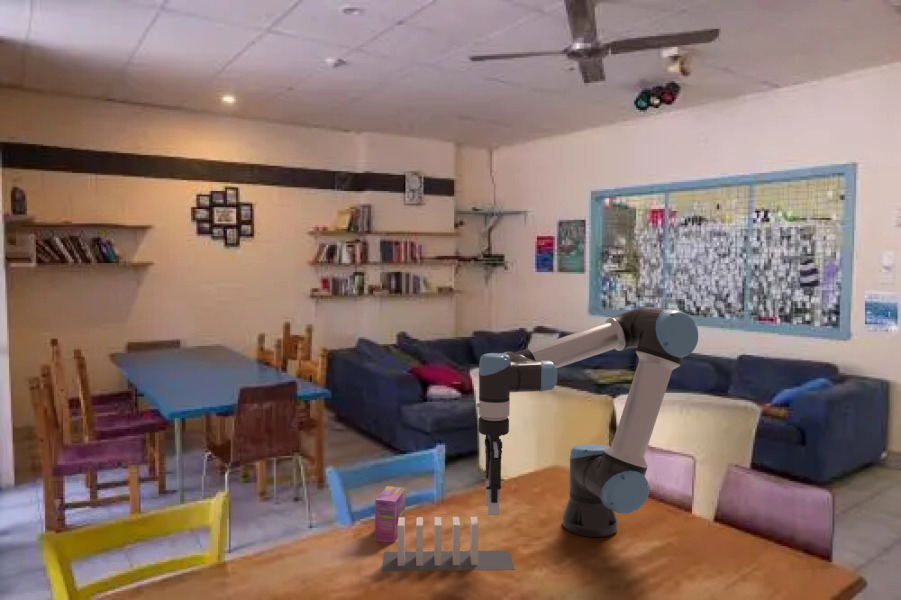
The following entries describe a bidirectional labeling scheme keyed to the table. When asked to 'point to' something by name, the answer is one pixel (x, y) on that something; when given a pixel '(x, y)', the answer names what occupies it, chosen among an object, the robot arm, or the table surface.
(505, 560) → the mat
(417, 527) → the domino
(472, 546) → the domino
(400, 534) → the domino
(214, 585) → the table surface
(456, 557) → the domino
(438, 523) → the domino
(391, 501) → the box
